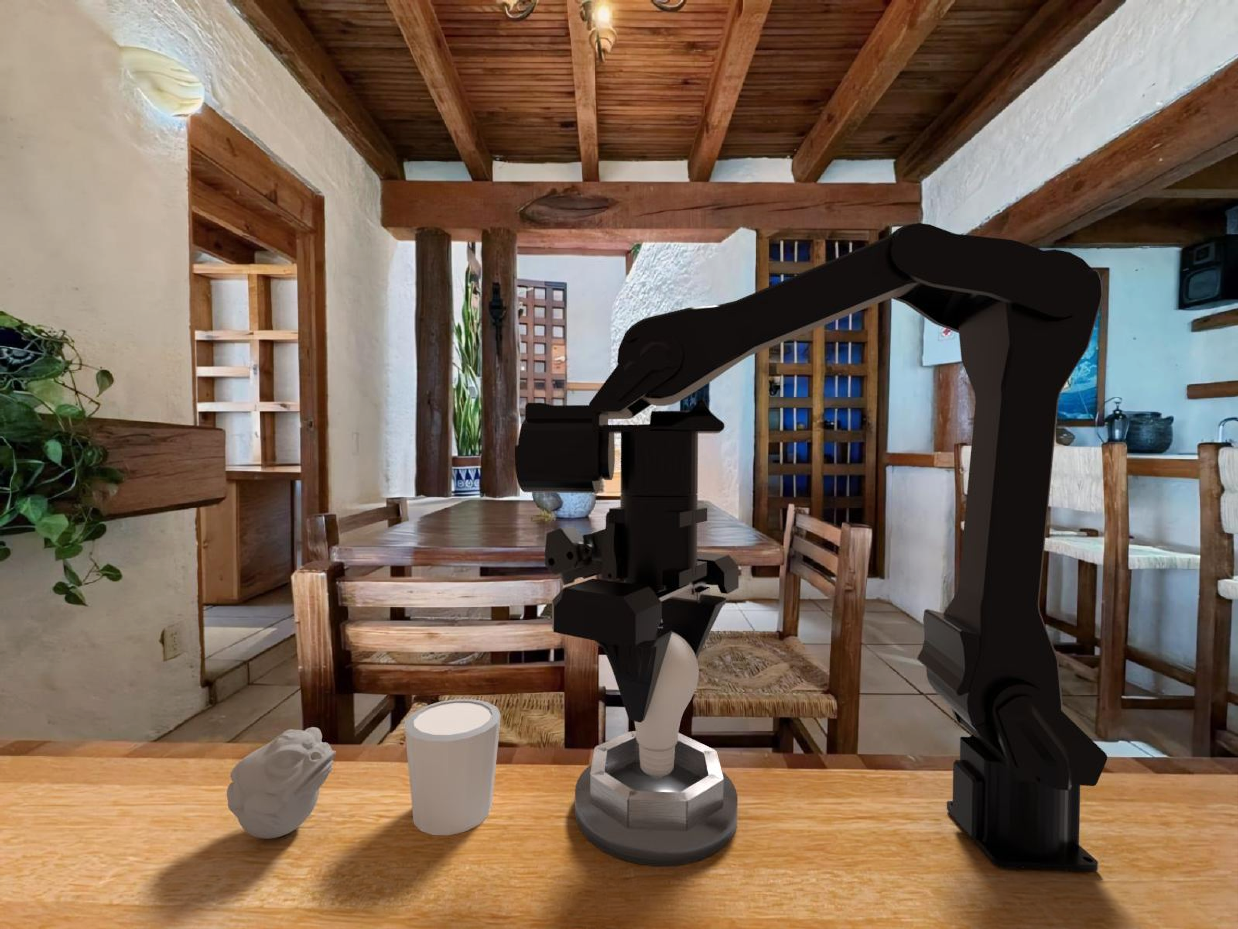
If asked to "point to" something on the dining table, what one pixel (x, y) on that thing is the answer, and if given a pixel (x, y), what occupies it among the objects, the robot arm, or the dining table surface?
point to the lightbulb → (667, 708)
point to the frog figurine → (280, 783)
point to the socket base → (656, 804)
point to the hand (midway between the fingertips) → (657, 703)
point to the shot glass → (452, 764)
